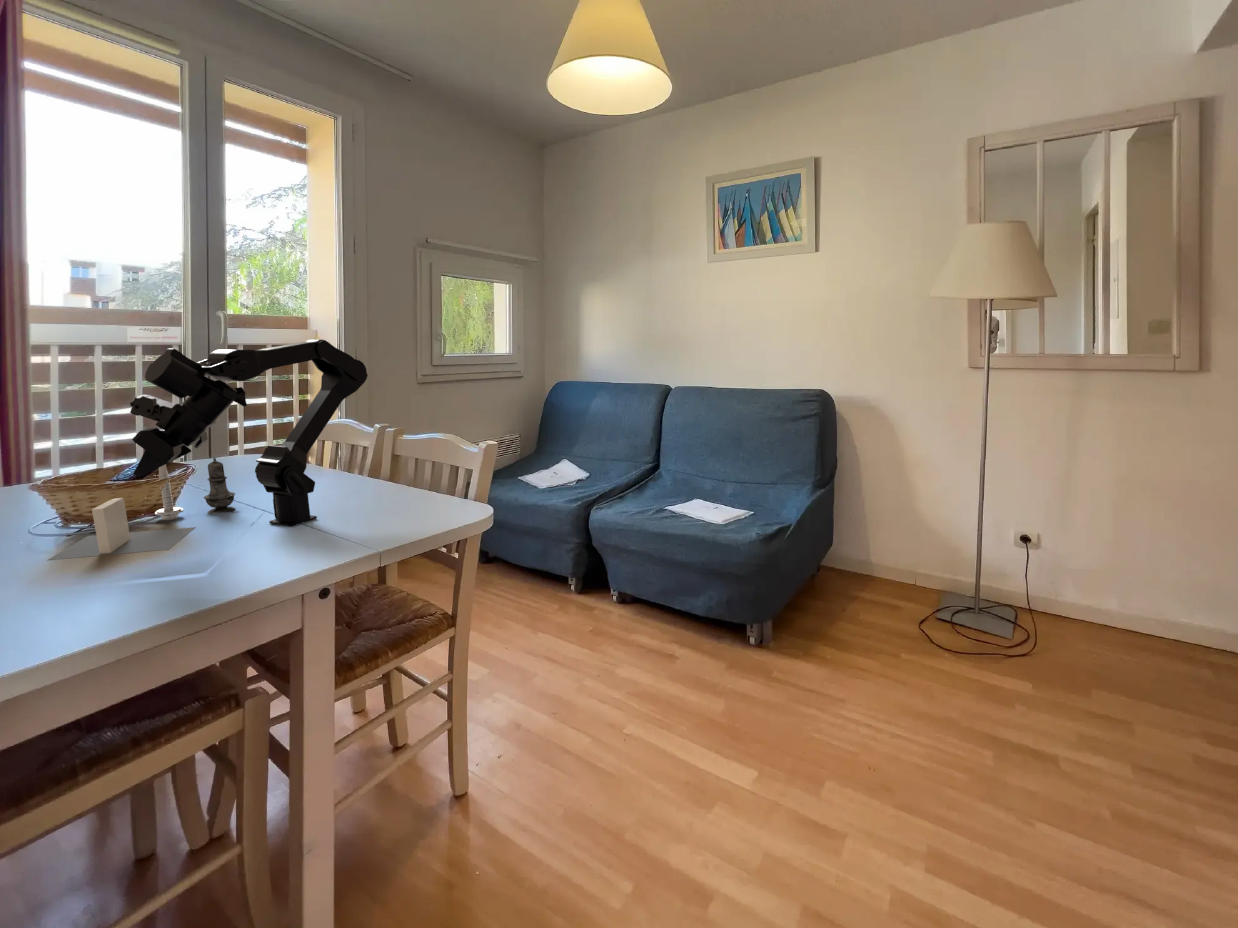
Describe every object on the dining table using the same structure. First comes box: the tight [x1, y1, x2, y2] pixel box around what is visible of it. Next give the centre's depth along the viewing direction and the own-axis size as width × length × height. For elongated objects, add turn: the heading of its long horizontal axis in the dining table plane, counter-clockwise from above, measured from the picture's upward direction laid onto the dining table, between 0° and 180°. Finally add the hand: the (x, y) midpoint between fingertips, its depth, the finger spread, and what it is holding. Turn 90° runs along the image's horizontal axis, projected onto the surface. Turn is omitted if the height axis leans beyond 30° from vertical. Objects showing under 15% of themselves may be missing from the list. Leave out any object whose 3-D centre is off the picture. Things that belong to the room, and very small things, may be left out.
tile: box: [91, 497, 131, 554], centre depth 115 cm, size 2×8×8 cm, turn 16°
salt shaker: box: [203, 457, 236, 514], centre depth 139 cm, size 6×6×12 cm
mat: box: [47, 526, 197, 561], centre depth 118 cm, size 18×14×1 cm
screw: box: [154, 464, 184, 521], centre depth 132 cm, size 13×5×5 cm
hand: (140, 473), depth 115 cm, fingers open, 3 cm apart
